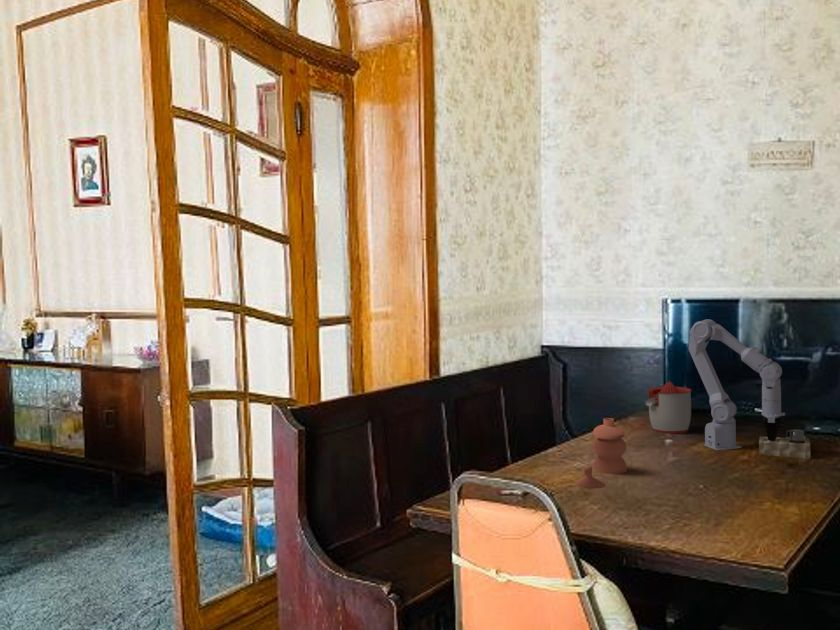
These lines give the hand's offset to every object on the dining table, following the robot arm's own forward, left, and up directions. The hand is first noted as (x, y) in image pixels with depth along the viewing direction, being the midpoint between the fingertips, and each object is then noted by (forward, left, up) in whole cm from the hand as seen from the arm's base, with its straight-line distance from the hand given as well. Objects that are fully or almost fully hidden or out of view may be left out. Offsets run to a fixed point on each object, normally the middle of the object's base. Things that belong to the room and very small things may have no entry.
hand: (771, 440), depth 258 cm
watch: (+15, +8, -2) cm, 17 cm away
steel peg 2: (+6, -5, -1) cm, 8 cm away
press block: (+3, -2, -5) cm, 6 cm away
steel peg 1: (0, 0, -5) cm, 5 cm away
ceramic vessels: (-72, -18, -5) cm, 74 cm away
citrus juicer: (-14, +40, -5) cm, 43 cm away
